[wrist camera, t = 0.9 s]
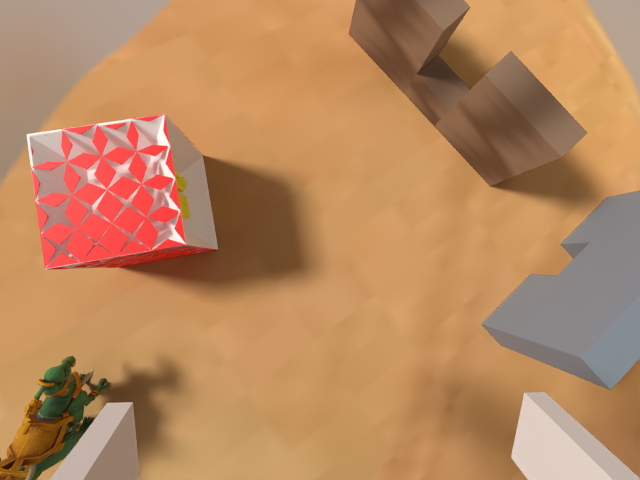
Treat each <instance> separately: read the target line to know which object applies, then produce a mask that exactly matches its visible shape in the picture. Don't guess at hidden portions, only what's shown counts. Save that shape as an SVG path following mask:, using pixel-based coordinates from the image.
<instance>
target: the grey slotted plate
mask: <svg viewBox="0 0 640 480" xmlns="http://www.w3.org/2000/svg"><path fill="white" fill-rule="evenodd" d="M561 245H562V246H563V248H564V249H565V250H566V251H567V252H568V253H569V254H570V255H571V256H572V257H573V258H574V259H573V260H572V261H571V262H570V263H569V264H568V265H567V266H566V267H565V269H564V270H563V271H562V272H561V273H560V274H559V275H558V276H554V275H534V274H531V275H530V276H529V277H528V278H527V279H526V280H525V281H524V282H523V283H522V284H521V285H520V286H519V287H518V288H517V289H516V290H515V291H514V292H513V293H512V294H511V295H510V296H509V297H508V298H507V299H506V300H505V301H504V302H503V303H502V304H501V305H500V306H499V307H498V308H497V309H496V310H495V311H494V312H493V313H492V314H491V315H490V316H489V317H488V318H487V319H486V320H485V321H484V322H483V323H482V325H483V326H484V327H485V329H486V330H487V331H488V332H489V333H490V334H491V335H492V336H493V337H494V338H495V339H496V340H497V342H498V343H499V344H500V345H501V346H504V347H506V348H509V349H511V350H514V351H516V352H519V353H521V354H523V355H526V356H528V357H531V358H533V359H536V360H538V361H541V362H543V363H546V364H548V365H550V366H553V367H555V368H558V369H560V370H563V371H565V372H568V373H570V374H572V375H575V376H577V377H580V378H582V379H585V380H587V381H590V382H592V383H594V384H597V385H599V386H602V387H604V388H607V389H609V390H611V389H612V388H613V387H614V386H615V385H616V384H617V383H618V382H619V381H620V379H621V378H622V377H623V376H624V375H625V374H626V373H627V372H628V371H629V370H630V369H631V367H632V366H633V365H634V364H635V363H636V362H637V361H638V360H639V359H640V191H635V192H630V193H626V194H621V195H616V196H611V197H607V198H606V199H605V200H604V201H603V202H602V203H601V204H600V205H599V206H598V207H597V208H596V209H595V210H594V211H593V212H592V213H591V214H590V215H589V216H588V217H587V218H586V219H585V220H584V221H583V222H582V223H581V224H580V225H579V226H578V227H577V228H576V229H575V230H574V231H573V232H572V233H571V234H570V235H569V236H568V237H567V238H566V239H565V240H564V241H563V242H562V243H561Z"/></svg>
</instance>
